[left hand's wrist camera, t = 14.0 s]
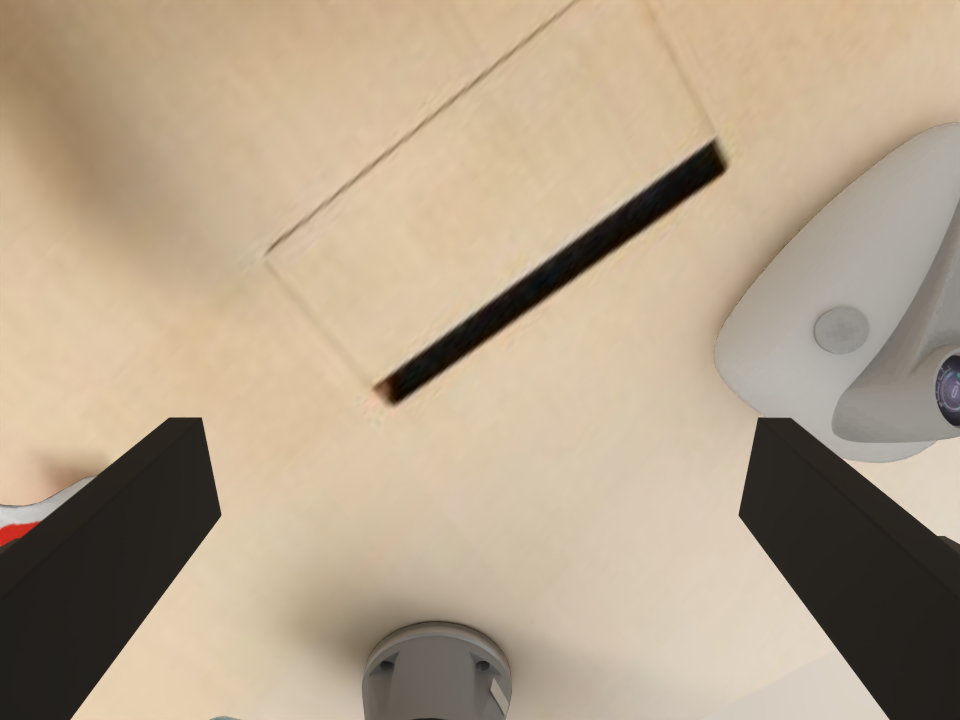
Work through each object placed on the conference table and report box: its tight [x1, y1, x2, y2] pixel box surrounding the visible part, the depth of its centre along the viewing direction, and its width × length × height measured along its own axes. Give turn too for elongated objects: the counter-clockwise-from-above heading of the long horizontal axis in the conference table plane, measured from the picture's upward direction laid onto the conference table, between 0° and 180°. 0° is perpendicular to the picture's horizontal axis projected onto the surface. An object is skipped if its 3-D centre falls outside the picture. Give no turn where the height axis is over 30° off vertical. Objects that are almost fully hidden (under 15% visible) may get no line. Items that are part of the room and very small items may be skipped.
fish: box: [0, 475, 98, 546], centre depth 45 cm, size 11×16×10 cm
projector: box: [714, 123, 960, 463], centre depth 35 cm, size 22×23×15 cm
